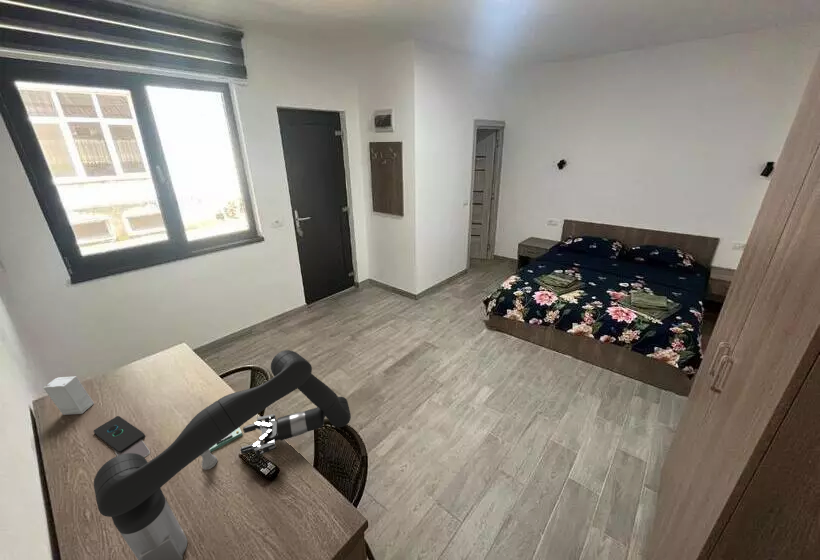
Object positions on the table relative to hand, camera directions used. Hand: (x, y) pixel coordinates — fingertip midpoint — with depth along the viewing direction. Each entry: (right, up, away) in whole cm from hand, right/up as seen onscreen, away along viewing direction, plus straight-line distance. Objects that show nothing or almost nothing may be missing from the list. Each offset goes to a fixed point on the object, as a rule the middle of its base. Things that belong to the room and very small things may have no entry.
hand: (242, 440), depth 108 cm
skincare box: (-79, +1, +23) cm, 82 cm away
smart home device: (-51, -4, +11) cm, 52 cm away
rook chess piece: (-10, -8, -1) cm, 13 cm away
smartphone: (-42, -7, +5) cm, 42 cm away
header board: (-15, -2, +12) cm, 19 cm away
